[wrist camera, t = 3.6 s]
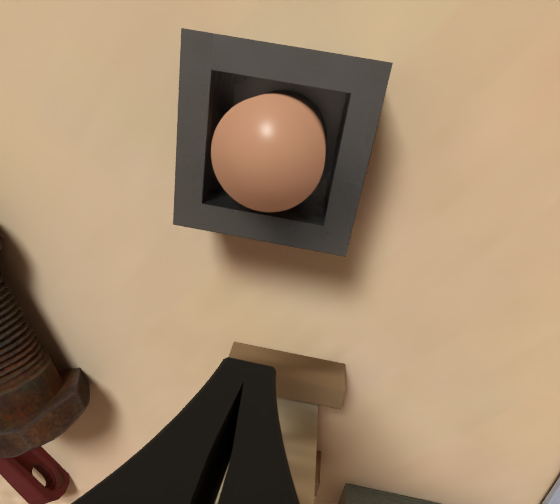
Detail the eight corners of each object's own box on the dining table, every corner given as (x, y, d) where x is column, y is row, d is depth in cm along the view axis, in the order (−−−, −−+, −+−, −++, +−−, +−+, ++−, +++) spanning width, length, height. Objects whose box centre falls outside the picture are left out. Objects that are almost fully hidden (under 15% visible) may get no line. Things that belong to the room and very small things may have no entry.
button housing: (378, 64, 16) (392, 63, 12) (343, 219, 18) (345, 256, 15) (216, 38, 16) (181, 28, 12) (204, 194, 19) (173, 224, 15)
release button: (335, 98, 16) (335, 106, 12) (317, 189, 17) (313, 221, 13) (242, 82, 16) (215, 86, 12) (233, 173, 17) (206, 201, 14)
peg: (319, 387, 22) (313, 512, 16) (306, 438, 24) (296, 570, 18) (248, 372, 23) (214, 491, 16) (240, 424, 24) (207, 550, 18)
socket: (345, 364, 21) (345, 391, 20) (317, 465, 25) (315, 496, 23) (234, 341, 22) (224, 366, 20) (220, 445, 25) (212, 474, 23)
